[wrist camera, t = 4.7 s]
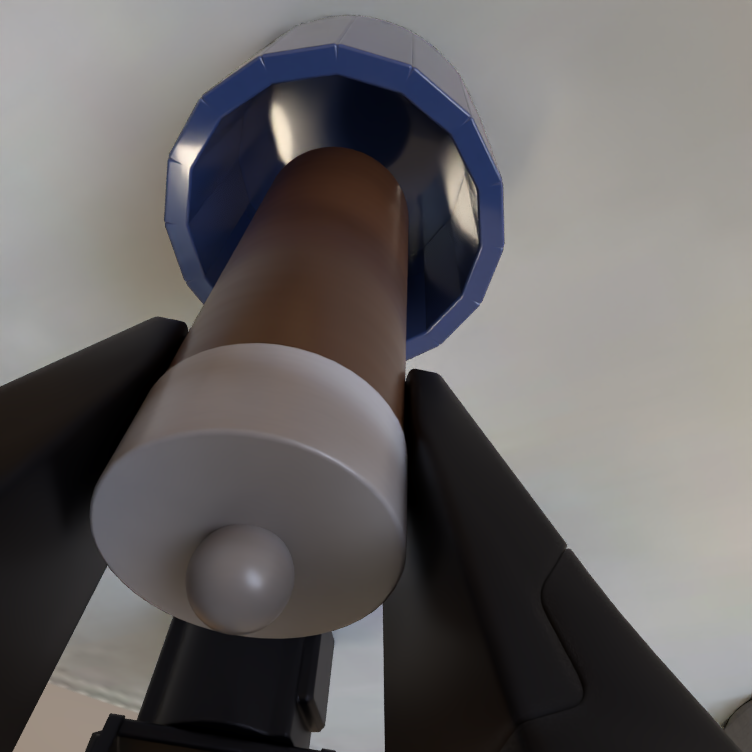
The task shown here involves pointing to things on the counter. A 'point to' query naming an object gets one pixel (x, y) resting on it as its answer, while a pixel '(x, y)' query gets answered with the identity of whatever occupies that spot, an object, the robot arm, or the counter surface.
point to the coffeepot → (741, 727)
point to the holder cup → (354, 131)
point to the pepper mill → (278, 422)
